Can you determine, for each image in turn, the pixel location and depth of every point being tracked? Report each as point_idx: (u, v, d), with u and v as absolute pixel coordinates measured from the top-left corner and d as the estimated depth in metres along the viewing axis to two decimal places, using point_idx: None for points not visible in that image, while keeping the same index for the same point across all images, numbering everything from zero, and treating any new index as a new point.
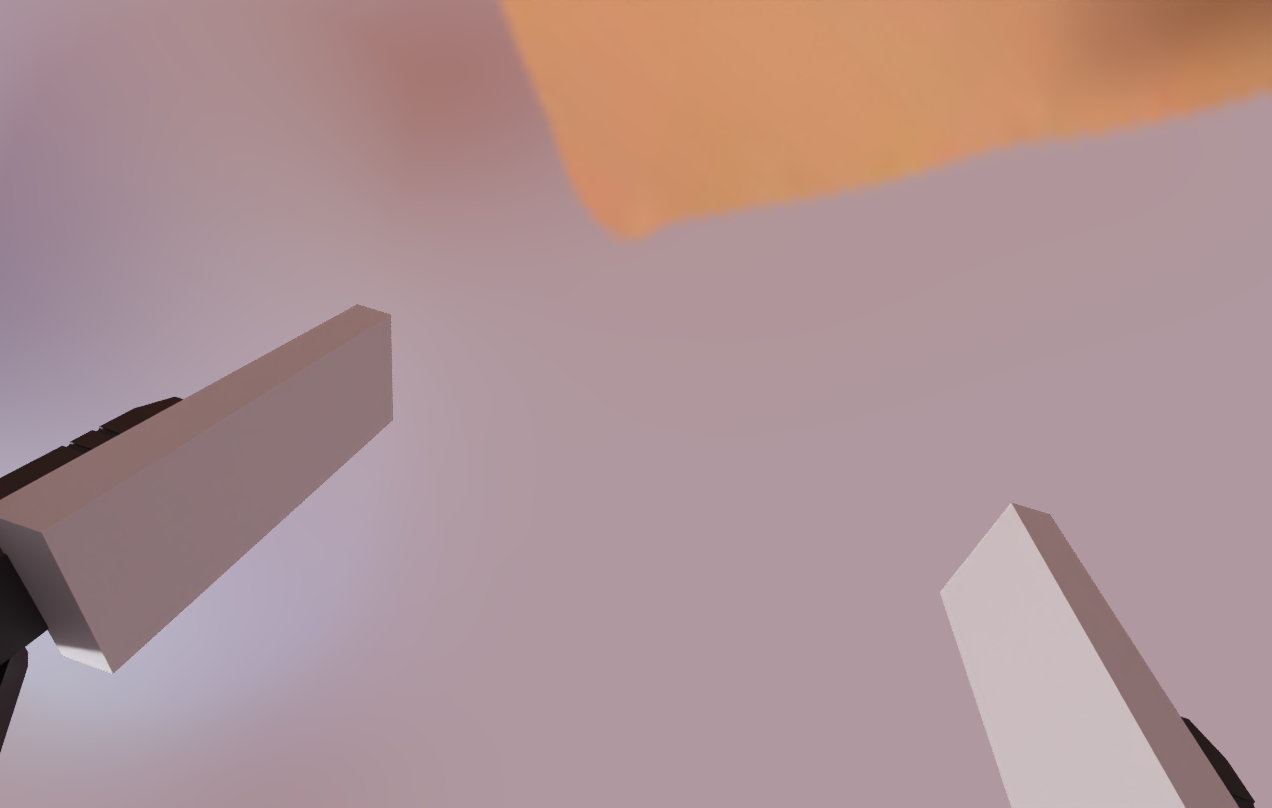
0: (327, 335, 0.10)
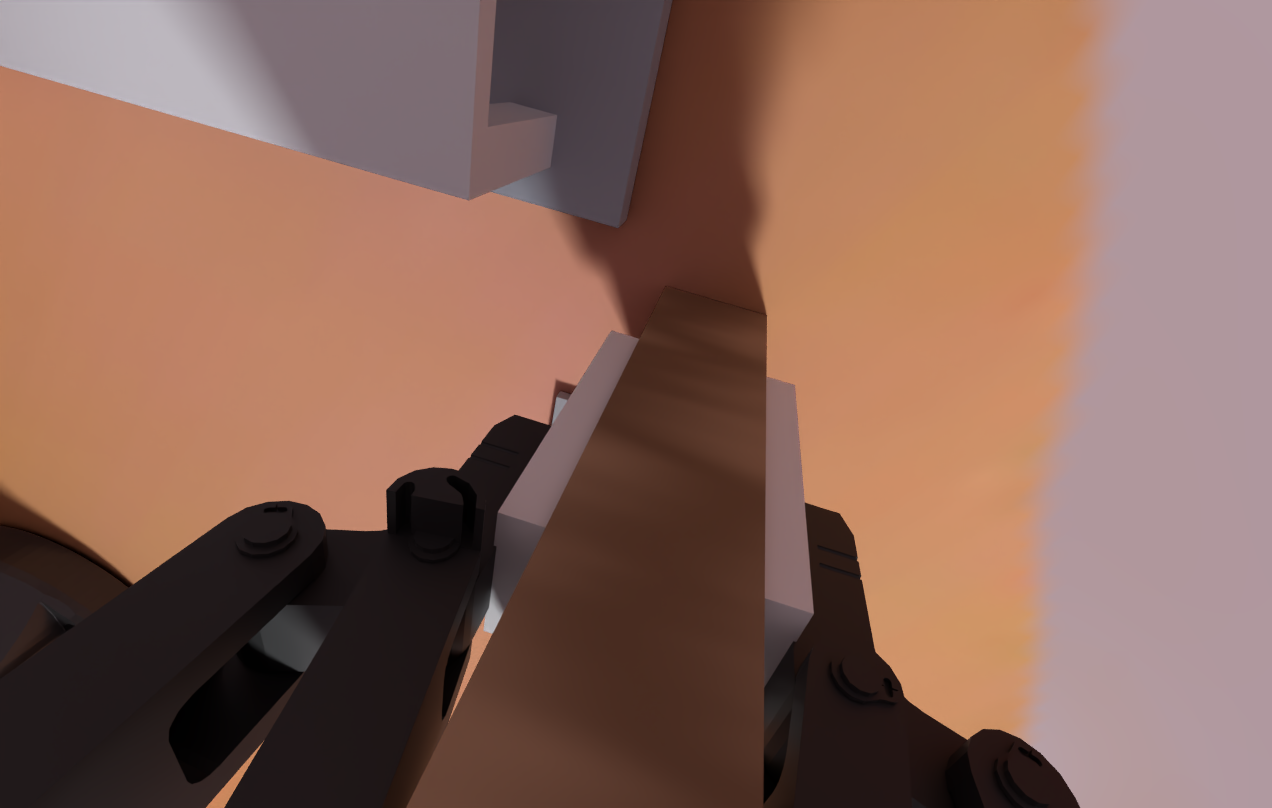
0: (610, 359, 0.12)
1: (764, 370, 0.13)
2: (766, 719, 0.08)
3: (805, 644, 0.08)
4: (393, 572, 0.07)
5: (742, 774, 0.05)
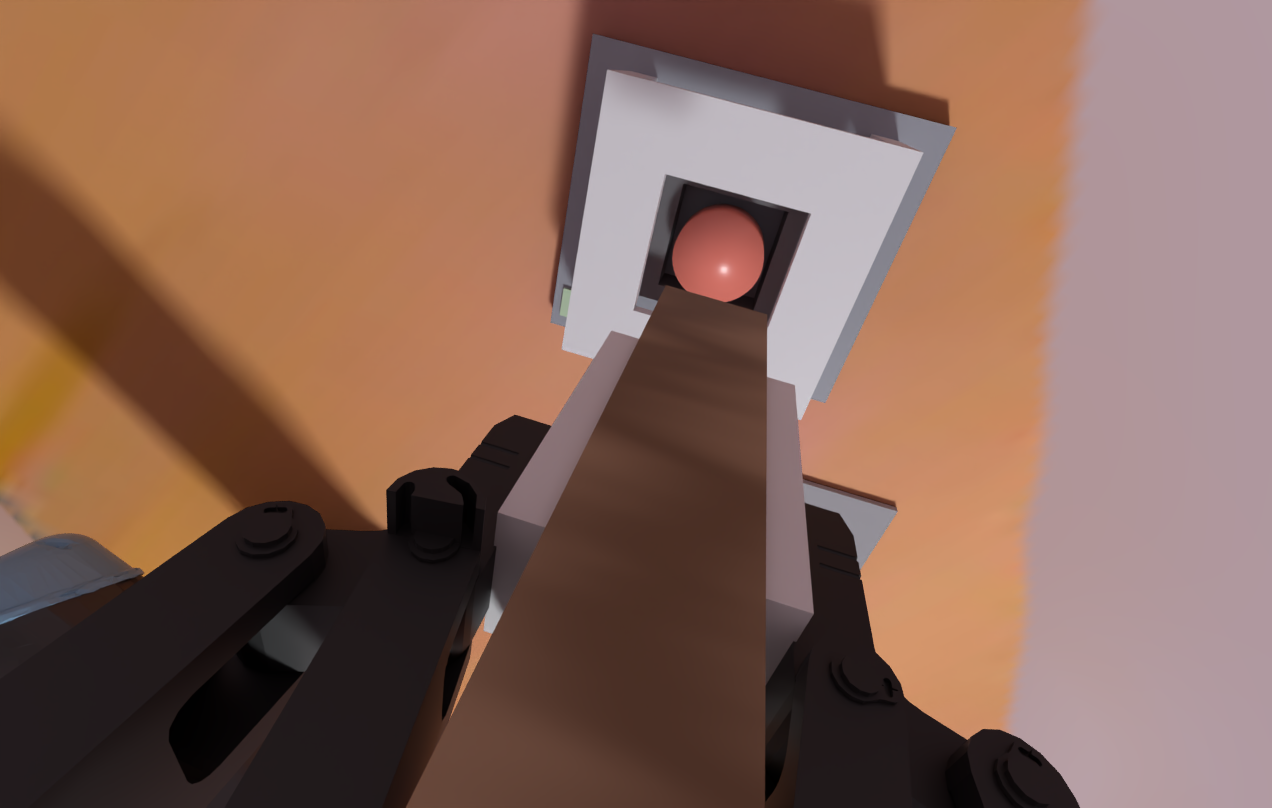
0: (610, 359, 0.12)
1: (765, 368, 0.13)
2: (766, 718, 0.08)
3: (805, 644, 0.08)
4: (393, 572, 0.07)
5: (744, 773, 0.05)
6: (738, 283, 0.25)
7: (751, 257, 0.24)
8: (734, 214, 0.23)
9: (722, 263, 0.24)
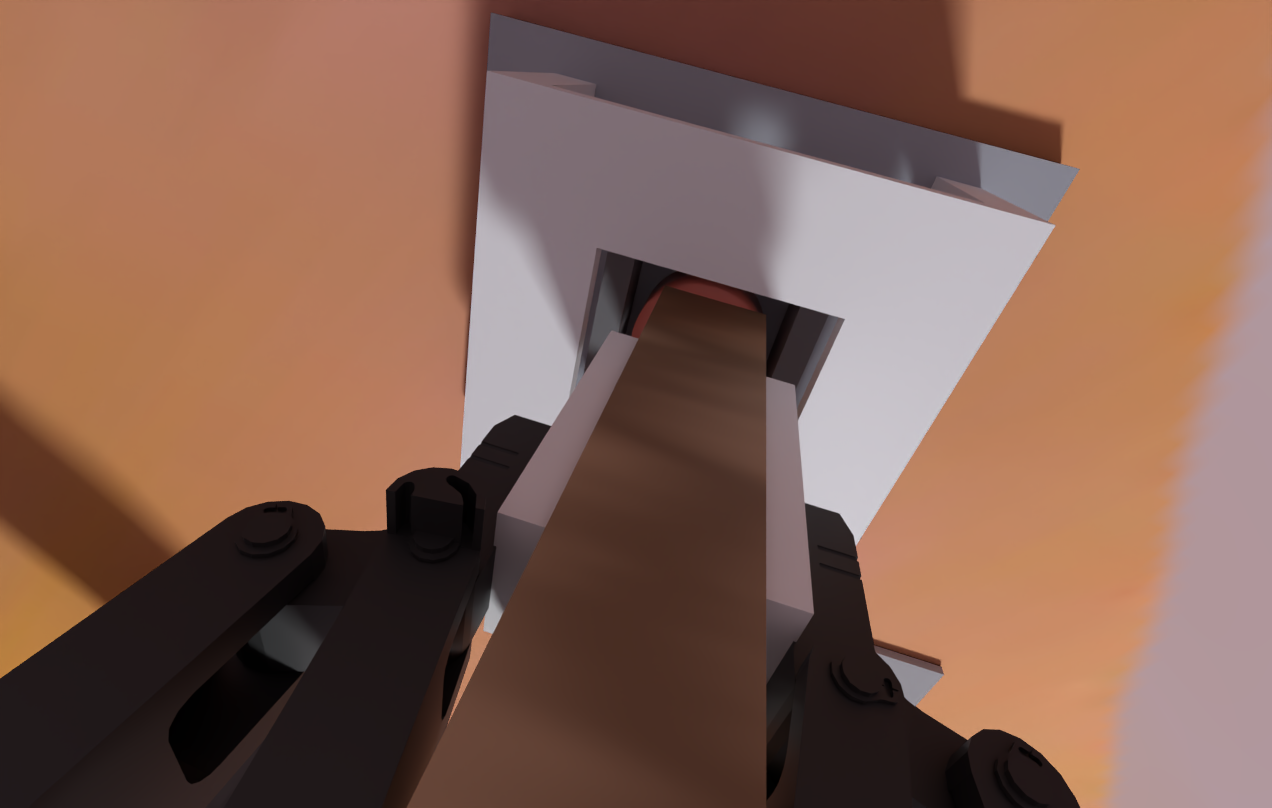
0: (610, 359, 0.12)
1: (764, 368, 0.13)
2: (766, 719, 0.08)
3: (805, 644, 0.08)
4: (393, 572, 0.07)
5: (745, 771, 0.05)
6: None
7: None
8: (720, 288, 0.16)
9: None
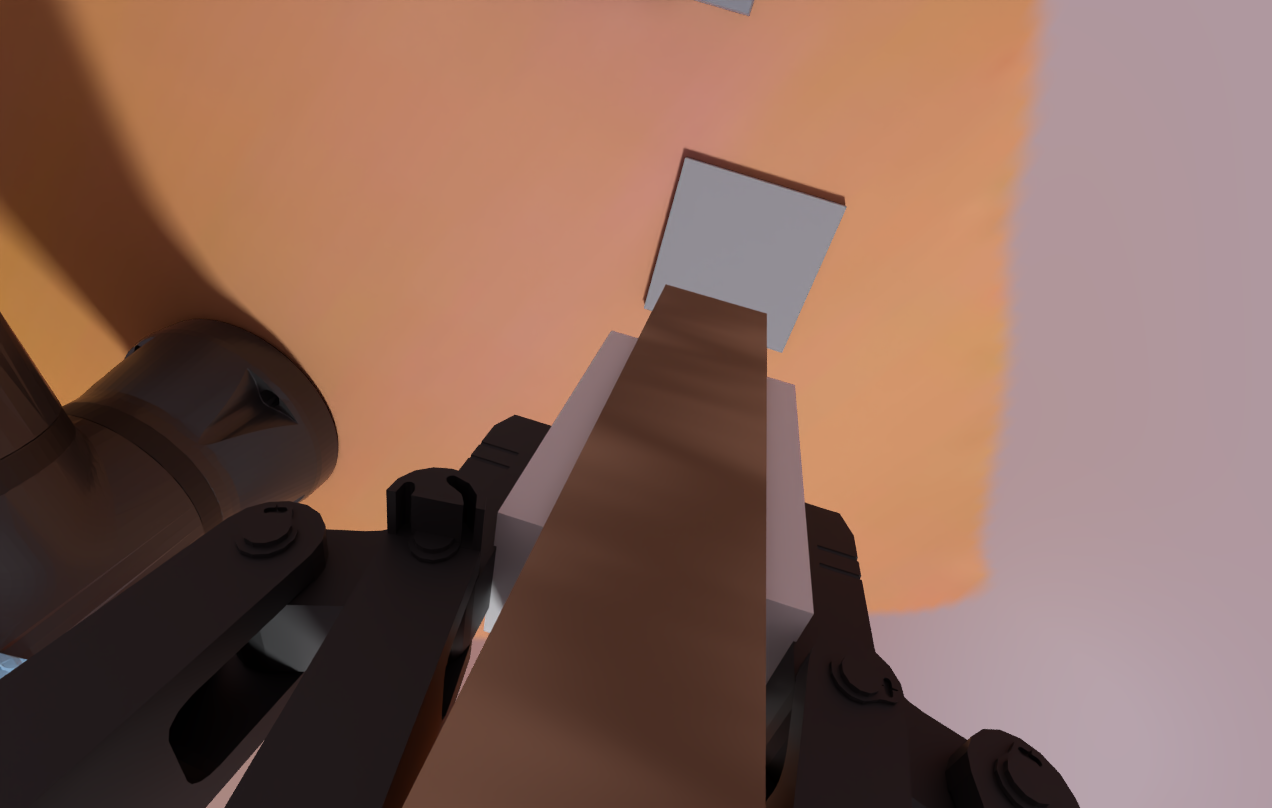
0: (610, 359, 0.12)
1: (765, 367, 0.13)
2: (766, 719, 0.08)
3: (805, 644, 0.08)
4: (393, 572, 0.07)
5: (744, 768, 0.05)
6: None
7: None
8: None
9: None
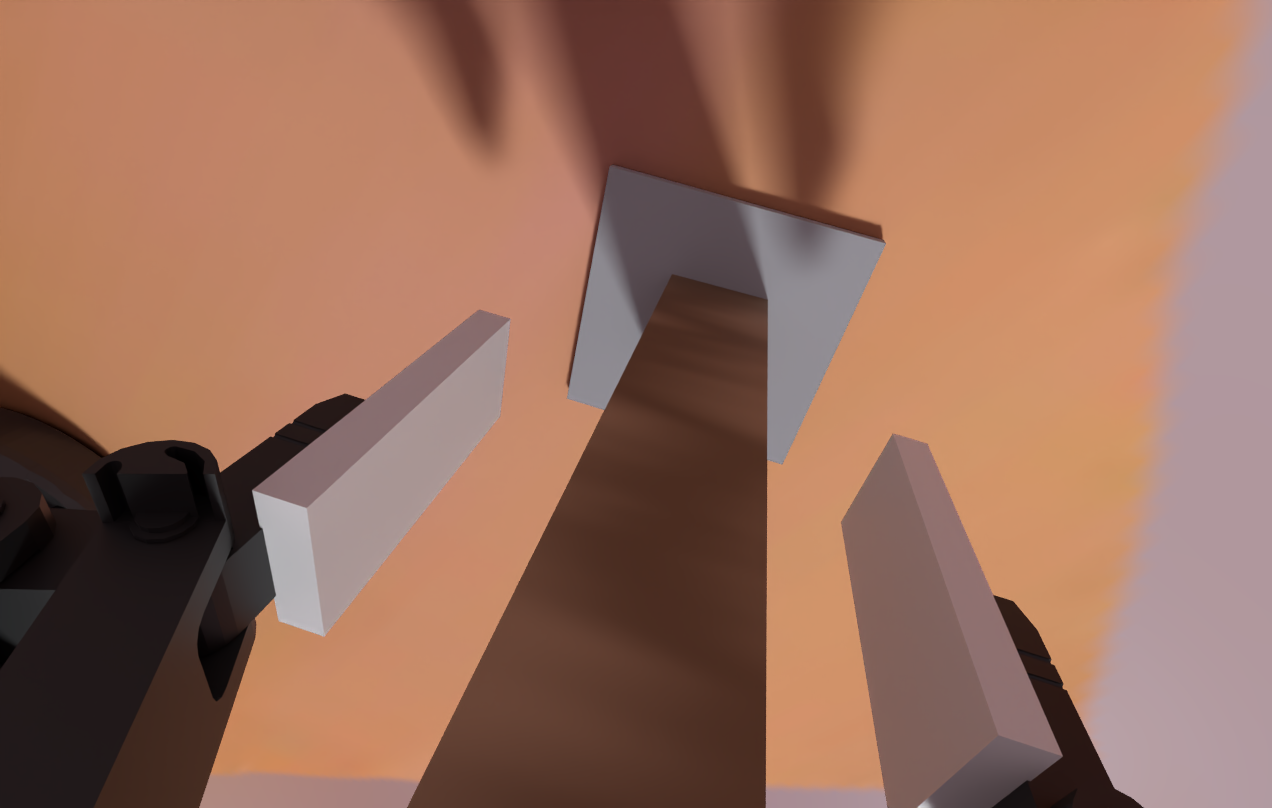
0: (464, 337, 0.11)
1: (765, 347, 0.14)
2: None
3: (1040, 783, 0.07)
4: (111, 560, 0.06)
5: (748, 662, 0.06)
6: None
7: None
8: None
9: None
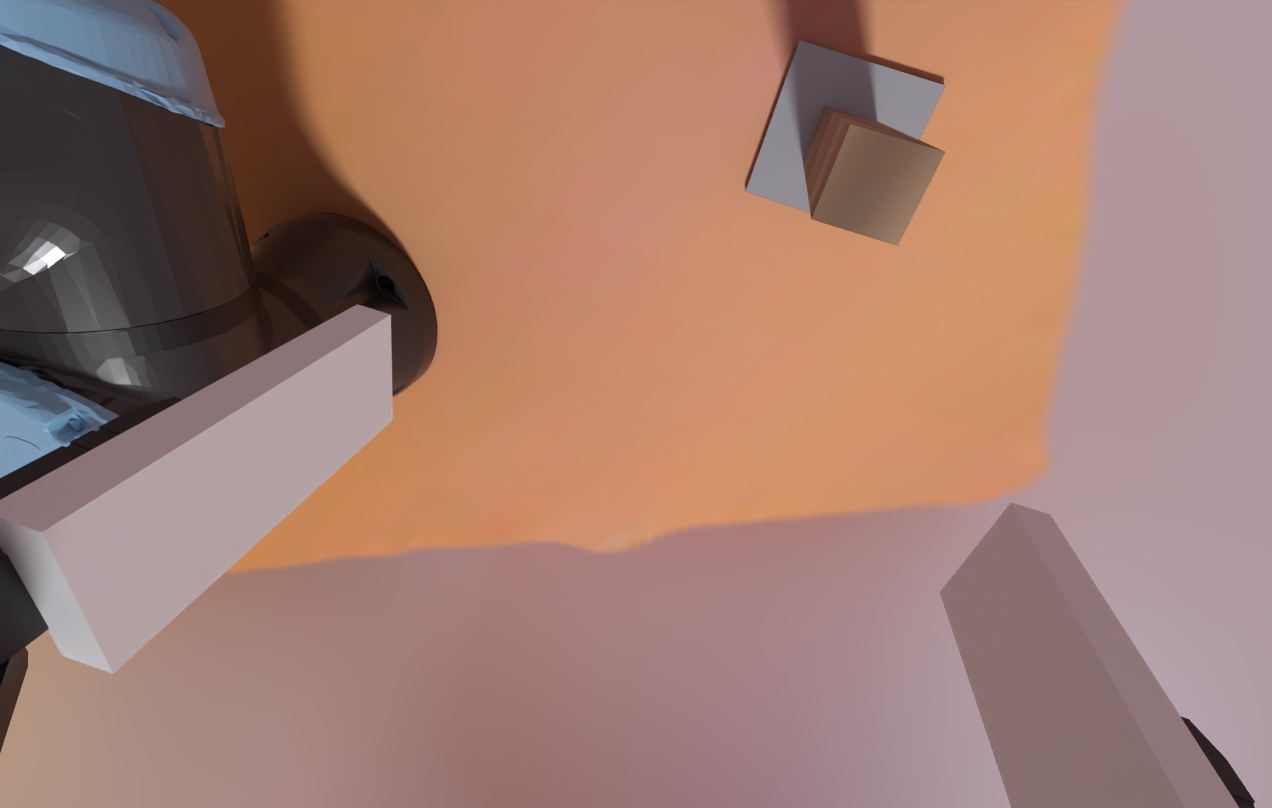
0: (327, 335, 0.10)
1: (885, 125, 0.28)
2: None
3: None
4: None
5: (916, 139, 0.20)
6: None
7: None
8: None
9: None
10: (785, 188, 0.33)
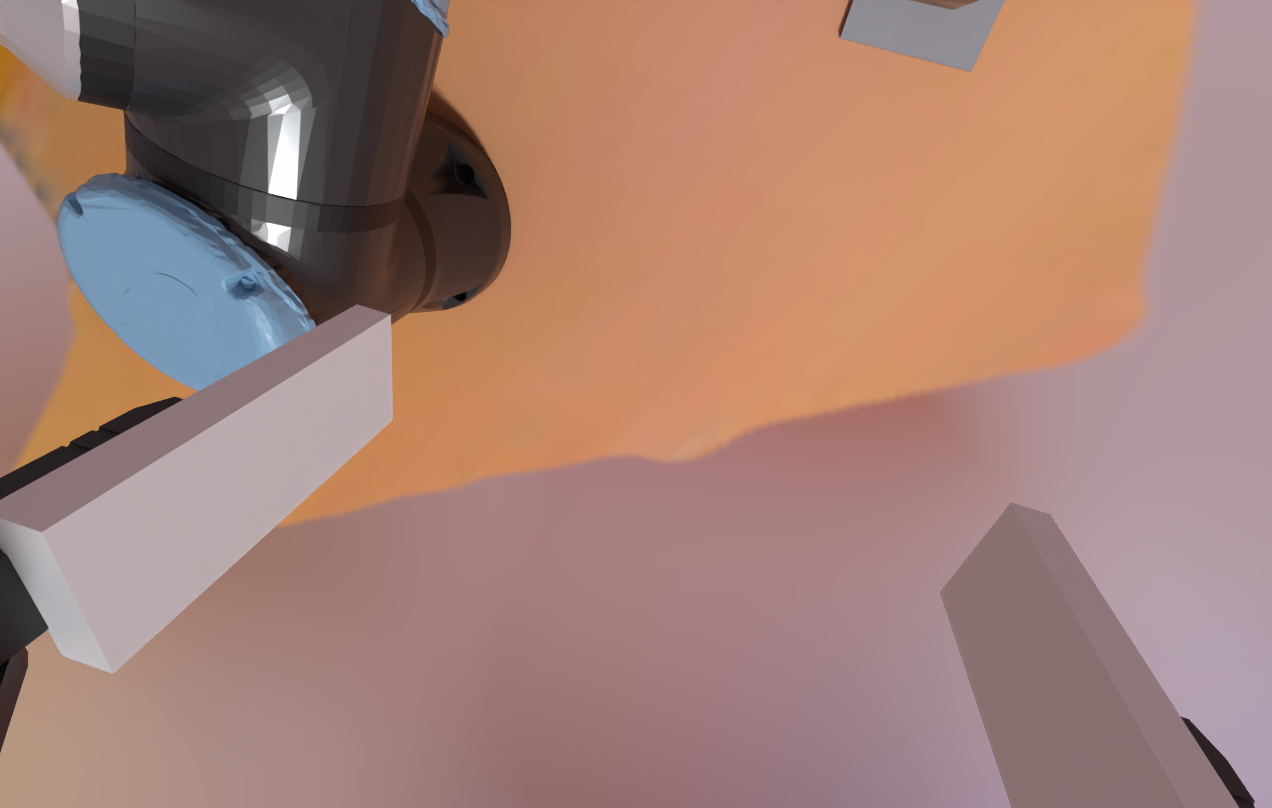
0: (326, 334, 0.10)
1: None
2: None
3: None
4: None
5: None
6: None
7: None
8: None
9: None
10: (881, 29, 0.33)
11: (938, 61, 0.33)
